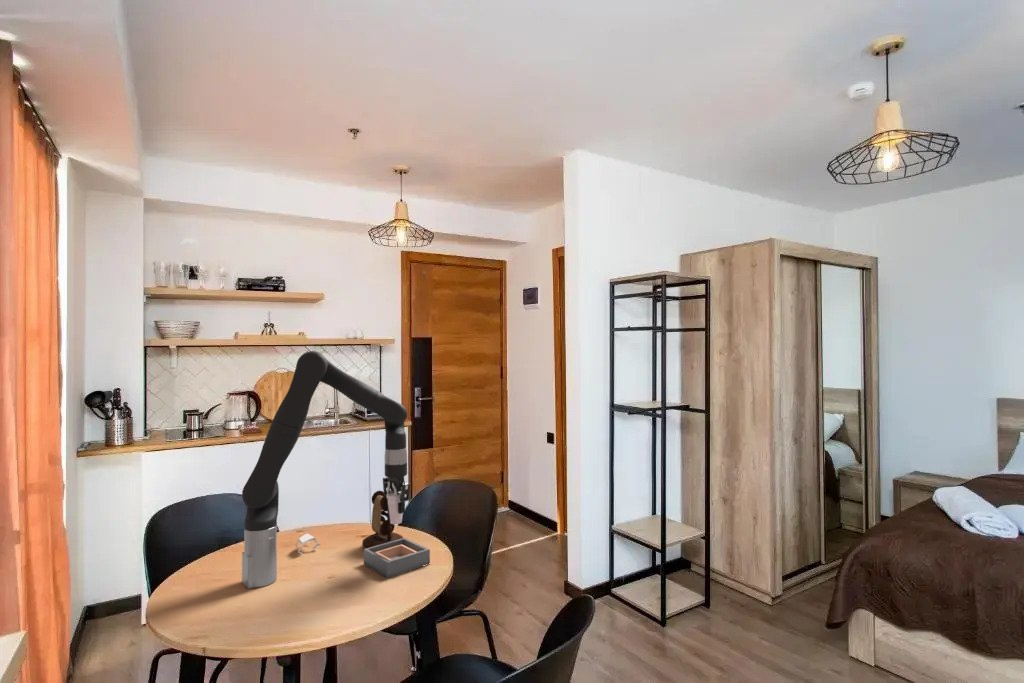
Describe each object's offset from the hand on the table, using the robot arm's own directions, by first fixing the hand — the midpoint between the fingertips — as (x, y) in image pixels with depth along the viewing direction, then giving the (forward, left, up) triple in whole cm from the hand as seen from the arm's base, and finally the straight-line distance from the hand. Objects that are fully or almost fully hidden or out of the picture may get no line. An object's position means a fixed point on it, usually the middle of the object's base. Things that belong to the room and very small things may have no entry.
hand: (396, 510), depth 179 cm
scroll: (+5, +18, -18) cm, 26 cm away
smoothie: (0, 0, -4) cm, 4 cm away
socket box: (0, 0, -18) cm, 18 cm away
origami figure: (-16, +35, -18) cm, 42 cm away
